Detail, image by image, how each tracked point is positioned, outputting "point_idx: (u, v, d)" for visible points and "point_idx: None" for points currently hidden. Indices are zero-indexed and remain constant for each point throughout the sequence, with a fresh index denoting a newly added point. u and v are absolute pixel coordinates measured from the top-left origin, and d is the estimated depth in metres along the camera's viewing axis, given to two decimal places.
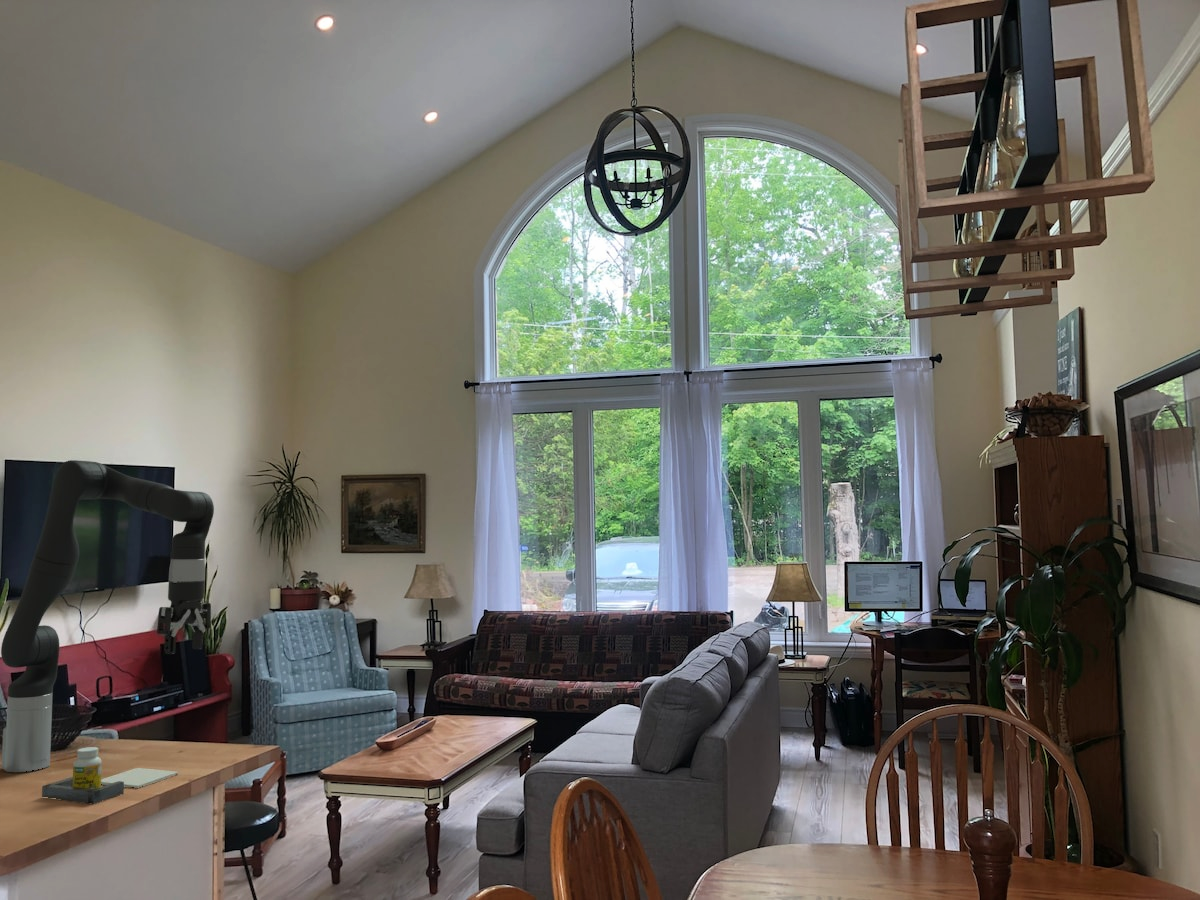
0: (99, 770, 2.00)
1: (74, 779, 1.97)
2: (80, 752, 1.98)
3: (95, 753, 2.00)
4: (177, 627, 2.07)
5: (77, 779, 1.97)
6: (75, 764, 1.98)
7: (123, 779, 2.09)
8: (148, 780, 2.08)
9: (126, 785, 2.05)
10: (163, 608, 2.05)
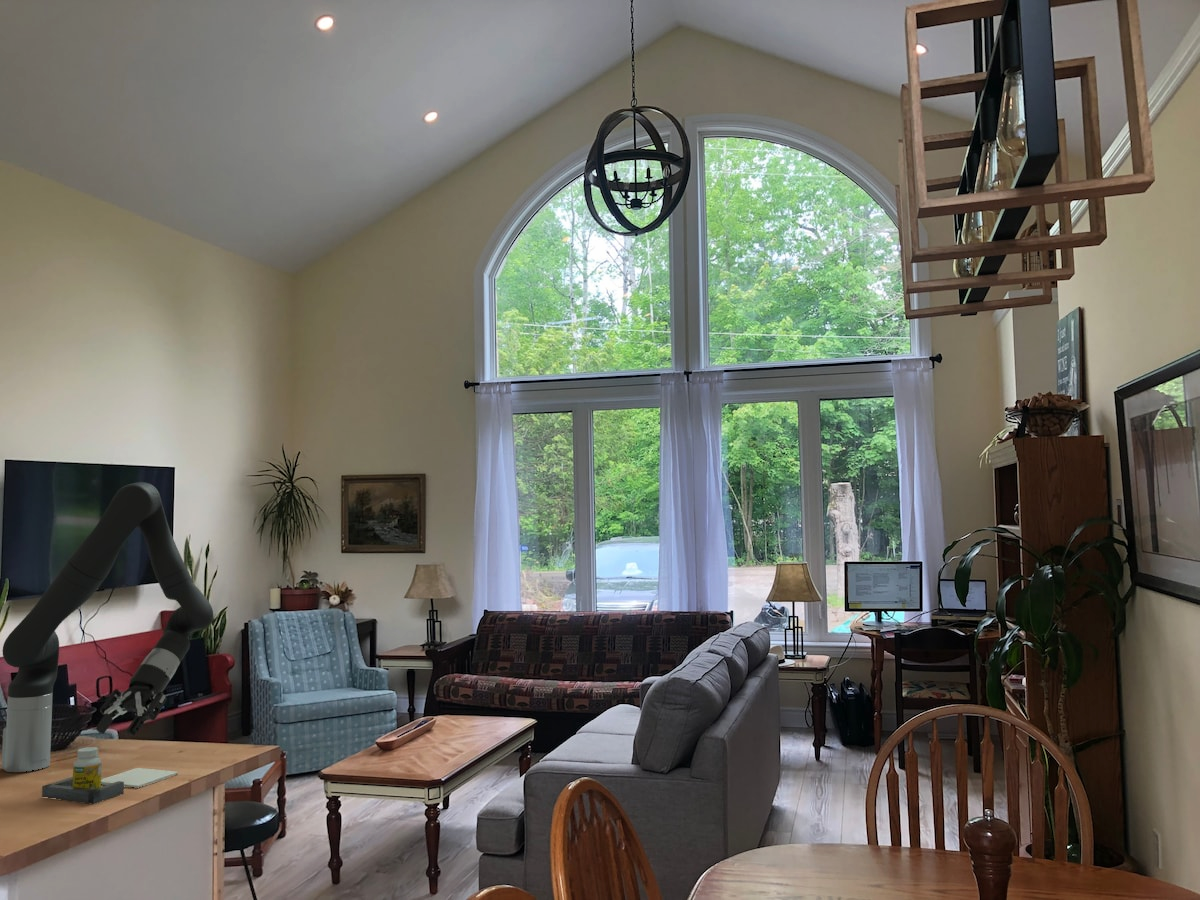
0: (99, 770, 2.00)
1: (74, 779, 1.97)
2: (80, 752, 1.98)
3: (95, 753, 2.00)
4: None
5: (77, 779, 1.97)
6: (75, 764, 1.98)
7: (123, 779, 2.09)
8: (148, 780, 2.08)
9: (126, 785, 2.05)
10: (163, 695, 2.12)
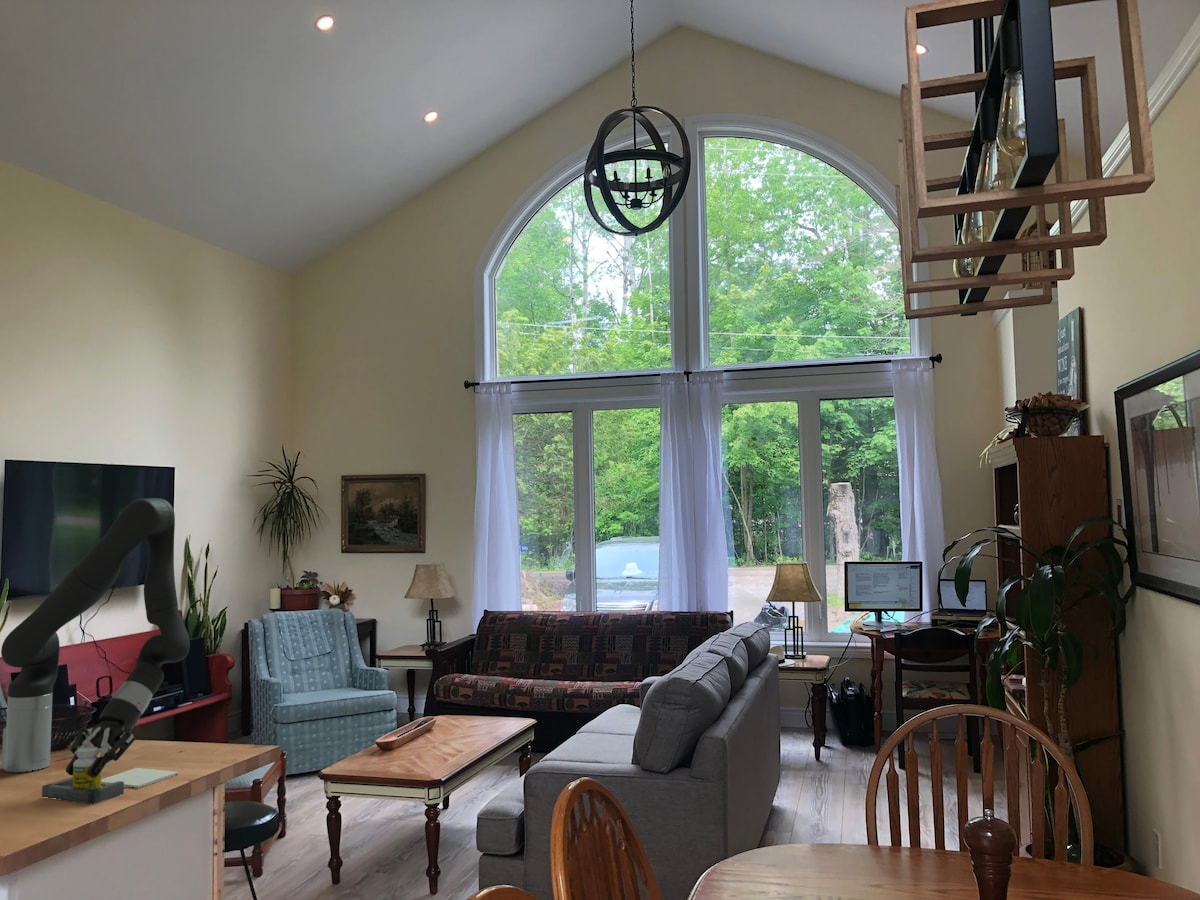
0: None
1: (74, 779, 1.97)
2: (80, 752, 1.98)
3: (95, 753, 2.00)
4: None
5: (77, 779, 1.97)
6: (75, 764, 1.98)
7: (123, 779, 2.09)
8: (148, 780, 2.08)
9: (126, 785, 2.05)
10: (131, 735, 2.03)
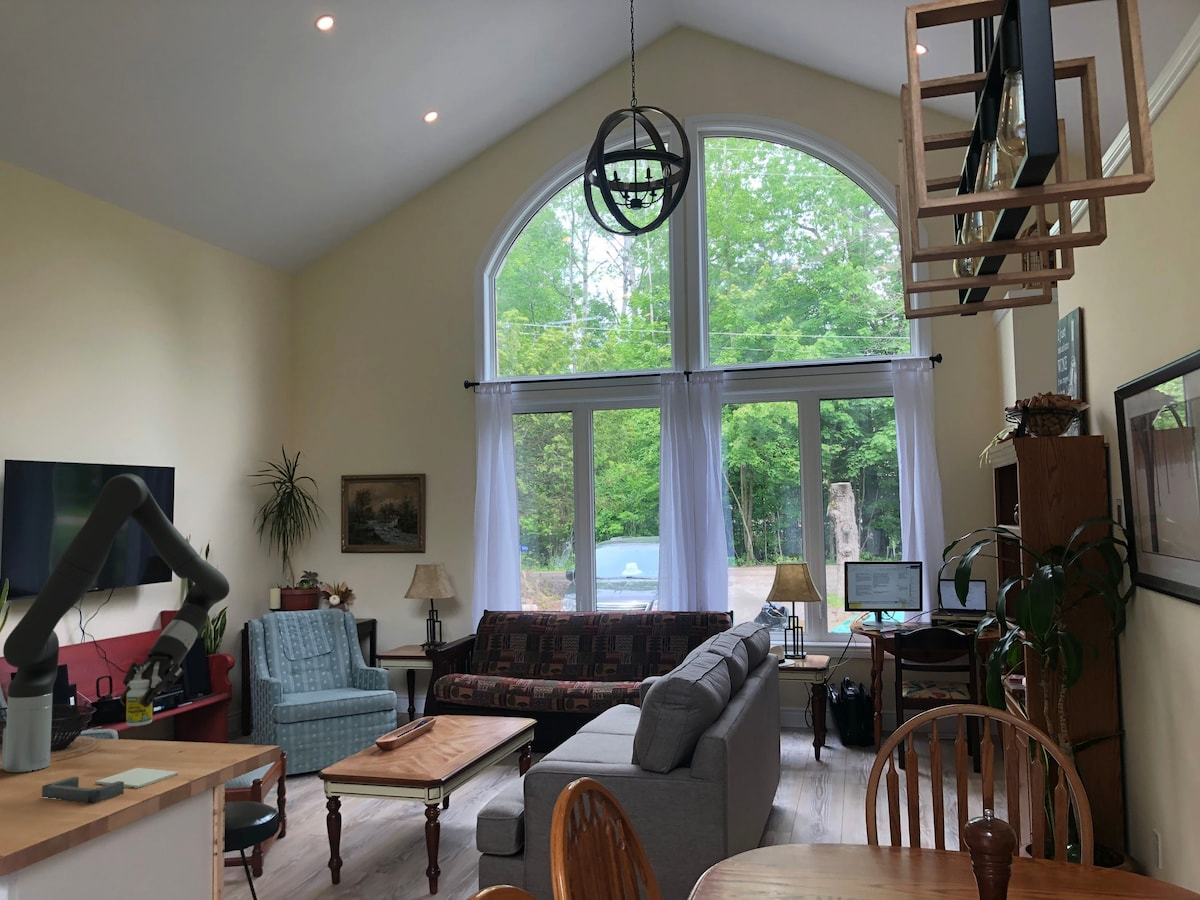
0: None
1: (127, 708, 2.10)
2: (133, 683, 2.11)
3: (147, 685, 2.12)
4: None
5: (130, 708, 2.10)
6: (128, 694, 2.10)
7: (123, 779, 2.09)
8: (148, 780, 2.08)
9: (126, 785, 2.05)
10: (180, 668, 2.16)
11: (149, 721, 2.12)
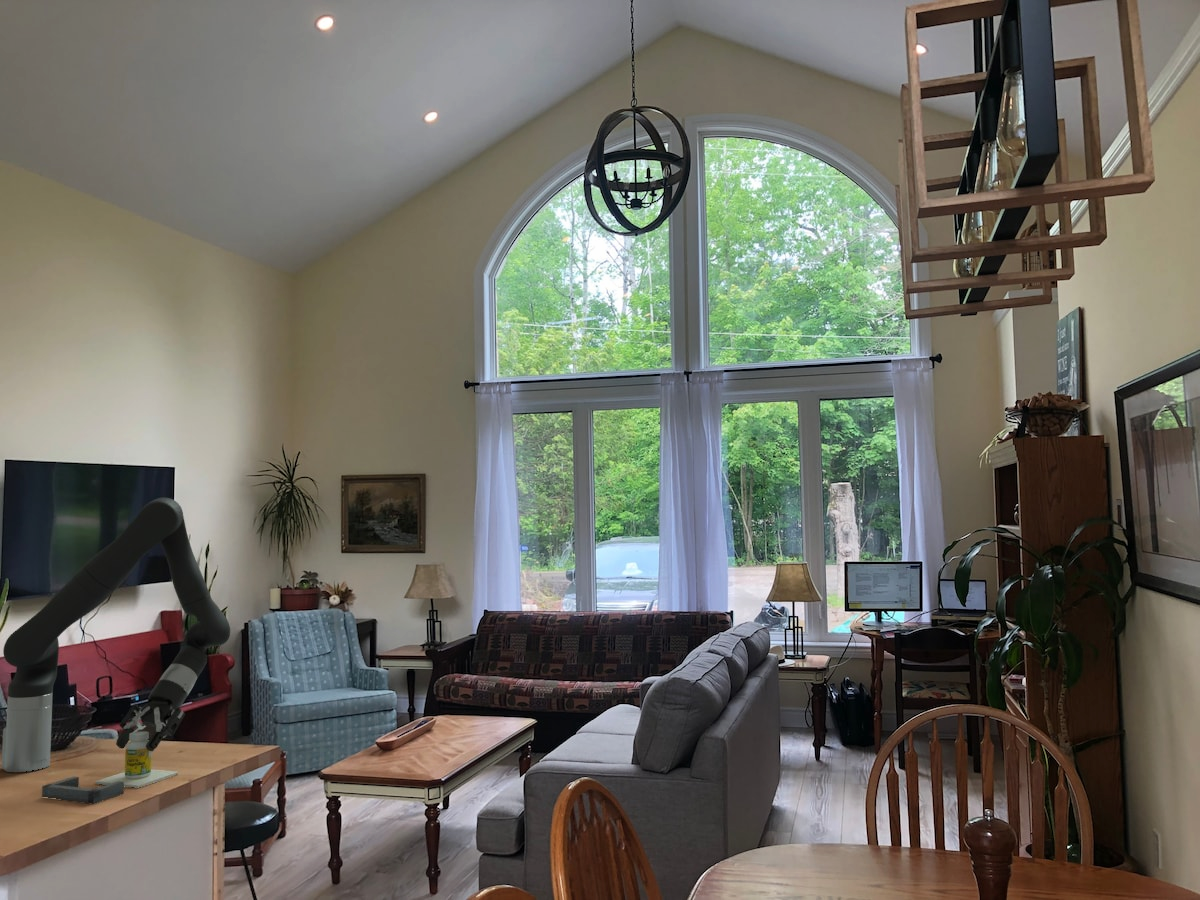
0: (150, 753, 2.12)
1: (127, 761, 2.10)
2: (132, 735, 2.10)
3: (146, 737, 2.12)
4: None
5: (129, 761, 2.09)
6: (128, 747, 2.10)
7: (123, 779, 2.09)
8: (148, 780, 2.08)
9: (126, 785, 2.05)
10: (182, 711, 2.16)
11: (148, 774, 2.11)
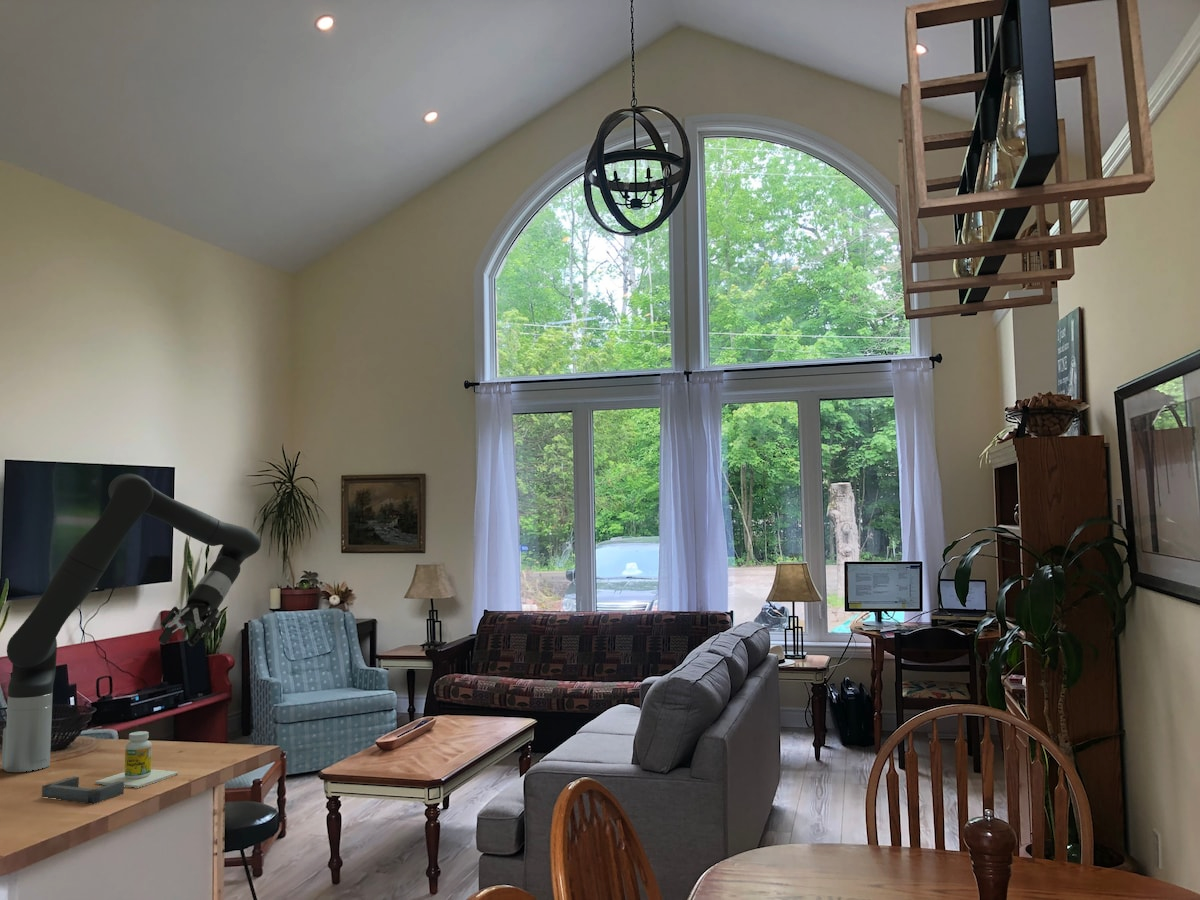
0: (149, 753, 2.12)
1: (126, 761, 2.10)
2: (132, 736, 2.10)
3: (146, 737, 2.12)
4: None
5: (129, 761, 2.09)
6: (127, 747, 2.10)
7: (123, 779, 2.09)
8: (148, 780, 2.08)
9: (126, 785, 2.05)
10: (219, 611, 2.33)
11: (148, 774, 2.11)
